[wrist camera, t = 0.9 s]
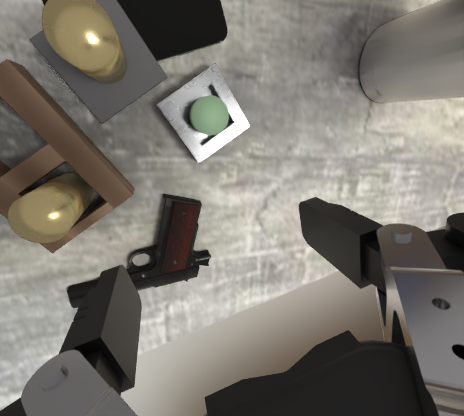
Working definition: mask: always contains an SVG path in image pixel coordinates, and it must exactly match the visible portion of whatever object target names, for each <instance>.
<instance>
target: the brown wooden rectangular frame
mask: <svg viewBox="0 0 464 416" xmlns="http://www.w3.org/2000/svg"><path fill="white" fill-rule="evenodd" d="M0 97H2V98H3V99H4V100H5V101H6V102H7V103H8V104H9V105H10V106H11V107H12V108H13V109H14V110H15V111H16V112H17V113H18V114H19V115H20V116H21V117H22V118H23V119H24V120H25V121H26V122H27V123H28V124H29V125H30V126H31V127H32V128H33V129H34V130H35V131H36V132H37V133H38V134H39V135H40V136H41V137H42V138H43V139H44V140H45V141H46V142H47V143H48V144H47V145H46V146H44V147H43V148H41V149H40V150H39V151H37V152H36V153H34V154H33V155H31V156H30V157H29V158H27V159H26V160H24V161H23V162H22V163H20V164H19V165H17V166H16V167H14V168H13V169H12V170H10V169H9V168H8V167H7V166H5V165H4V164H3V163H2V162H1V161H0V214H2V215H3V216H4V217H6V218H7V219H8V211H9V208H10V207H11V205H12V204H13V203H14V202H15V201H16V200H17V199H19V198H21V197H22V196H24V195H26V194H27V193H29V192H31V191H33V189H32V188H31V186H32V185H34V184H35V183H37V182H38V181H39V180H41V179H42V178H44V177H45V176H47V175H48V174H49V173H51V172H52V171H54V170H55V169H56V168H58V167H59V166H61V165H62V164H63V163H65V162H67V163H68V164H69V165H70V166H71V167H72V168H73V169H74V170H75V171H76V172H77V173H78V174H79V175H80V176H81V177H82V178H83V179H84V180H85V181H86V182H87V183H88V184H89V185H90V186H91V187H92V188H93V189H94V190H95V191H96V192H97V193H98V194H99V195H100V196H101V197H103V198H104V199H105V200H104V201H103V202H101V203H100V204H99V205H97V206H96V207H94V208H93V209H92V210H90V211H89V212H88V213H86V214H85V215H83V216H82V217H81V218H79V219H78V220H77V221H76V222H75V224H74V225H73V226H72V228H71V229H70V230H69V232H68V233H67V234H66V235H65V236H64V237H63V238H61V239H59V240H57V241H54V242H51V243H40V244H41V245H42V246H44V247H45V248H46V249H48V250H49V251H50V252H51V253H54V252H55V251H56V250H58V249H59V248H61V247H62V246H63V245H65V244H66V243H67V242H69V241H70V240H72V239H73V238H74V237H76V236H77V235H78V234H80V233H81V232H83V231H84V230H85V229H87V228H88V227H89V226H91V225H92V224H94V223H95V222H96V221H98V220H99V219H101V218H102V217H103V216H105V215H106V214H107V213H109V212H110V211H112V210H113V209H114V208H116V207H117V206H118V205H120V204H121V203H123V202H124V201H125V200H127V199H128V198H130V197H131V196H132V195H133V193H134V187H133V186H132V185H131V184H130V183H129V182H128V181H127V180H126V179H125V178H124V176H123V175H122V174H121V173H120V172H119V171H118V170H117V169H116V168H115V167H114V165H113V164H112V163H111V162H110V161H109V160H108V159H107V158H106V157H105V156H104V154H103V153H102V152H101V151H100V150H99V149H98V148H97V147H96V146H95V145H94V144H93V142H92V141H91V140H90V139H89V138H88V137H87V136H86V135H85V134H84V133H83V131H82V130H81V129H80V128H79V127H78V126H77V125H76V124H75V123H74V122H73V120H72V119H71V118H70V117H69V116H68V115H67V114H66V113H65V112H64V111H63V109H62V108H61V107H60V106H59V105H58V104H57V103H56V102H55V101H54V100H53V99H52V97H51V96H50V95H49V94H48V93H47V92H46V91H45V90H44V89H43V88H42V86H41V85H40V84H39V83H38V82H37V81H36V80H35V79H34V78H33V77H32V75H31V74H30V73H29V72H28V71H27V70H26V69H25V68H24V67H23V66H22V65H20V64H17V63H15V62H12V61H10V60H5V61H4V62H2V63H1V64H0Z"/></svg>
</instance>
